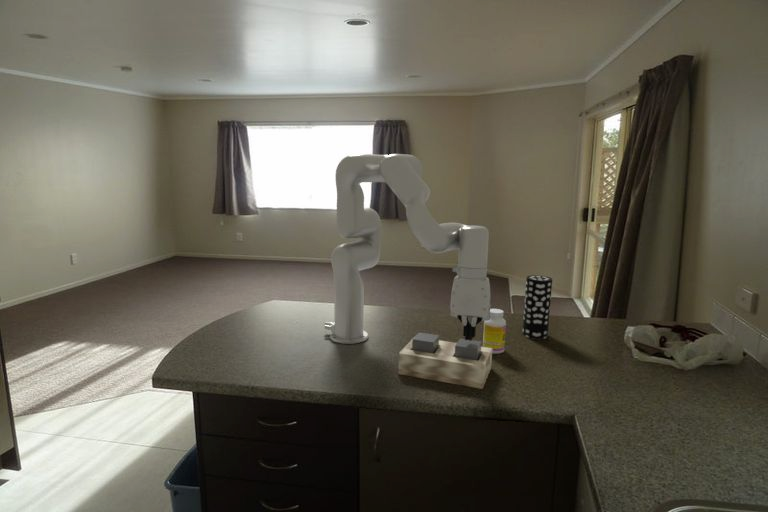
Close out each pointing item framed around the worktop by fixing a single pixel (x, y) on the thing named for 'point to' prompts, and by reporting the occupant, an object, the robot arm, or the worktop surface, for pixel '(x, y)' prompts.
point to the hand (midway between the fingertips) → (469, 338)
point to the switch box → (446, 365)
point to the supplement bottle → (495, 331)
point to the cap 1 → (425, 343)
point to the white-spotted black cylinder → (537, 306)
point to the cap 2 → (468, 349)
